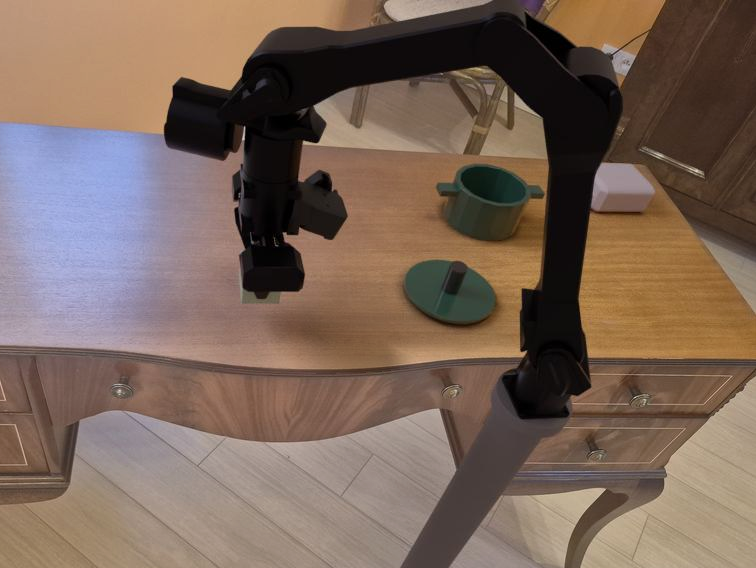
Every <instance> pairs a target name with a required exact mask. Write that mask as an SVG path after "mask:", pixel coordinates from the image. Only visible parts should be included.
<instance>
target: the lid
mask: <svg viewBox="0 0 756 568" xmlns="http://www.w3.org/2000/svg"><path fill="white" fill-rule="evenodd" d="M403 281H404V282H403V287H404V292H405V293H406V296H407V297H408V299H409V301H411V303H412V304H413V305H414V306H415V307H416V308H417V309H419V310H420V311H421V312H422V313H424V314H426V315H428V316H430V317H432V318H433V319H436V320H438V321H442V322H445V323H450V324H456V325H469V324H470V325H471V324H474V323H478V322H480V321H483V320H485V319H486V318H488V317H489V316H490V314H491V313H492V312H493V311H494V308H495V306H496V301H497V300H496V293H495V291H494V289H493V287H492V285H491V283H489V282H488V280H487V279H486V278H485V277H484V276H483V275H481V274H480V273H479V272H478V271H476V270H475V269H472V268H471V267H469V266H468V264H466V263H465V262H463V261H461V260H454V261H452V260H445V259H429V260H424V261H420V262H418V263H415V264H414V265H413V266H411V267H410V268H409V270H407V273H406V274H405V277H404V280H403Z"/></svg>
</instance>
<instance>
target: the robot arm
mask: <svg viewBox="0 0 756 568" xmlns="http://www.w3.org/2000/svg"><path fill="white" fill-rule="evenodd" d="M243 65H244V66H243V67H242V72H241V76H240V78H239V79H238V80H237V81H236V83H235V84H234V85H233V86H232V88H231V89H227V88H224V87H218V86H214V85H210V84H206V83H205V84H204V83H202V82H198V81H196V80H194V79H191V78H188V77H184V76H181V77H180V78H178V79H177V81H176V82H175V83H173V85H172V89H171V90H172V97H171V99H170V102H169V105H168V109H167V114H166V118H165V119H166V120H165V122H164V124H163V138H164V142H165V145H166V147H167V148H168V149H170V150H175V151H179V152H183V153H188V154H191V155H196V156H198V157H199V156H200V157H203V158H208V159H212V160H216V161H220V162H225V161H226V160H227V159H228V157H229V155H230V153H232V154H237V153H238V152H239V150H240V147H241V145H242V142H243V139H244V142H243V153H242V163H240V164H239V165H240V166H239V170H238V171H236V172H235V173H233V175H232V176H231V196H232V202H233V203H237V206H236V207H234V209H233V213H234V214H233V215H234V222H235V226H236V229H237V231H238V234H239V236H240V239H241V242H242V245H243V247H244V249H243V250H244V251H243V252H242V253H241V252H240V253H241V254H238V259H239V268H240V269H241V279H242V288H243V289H245V290H246V291H248V292H254V294H255V296H256V298H257V299H266V298H267V296H268V295H269V293H270V292H281V293H299V292H300V291H301V290H302V289H304V284H305V279H306V272H305V267H304V261H303V258H302V254H301V252H300V251H298V249H297V248H296V247H294V246H293V245H292V244H291V243H289V242H286V241H285V235H284V233H285V234H286V236H299V233H300V229H301V230H303V231H306V232H308V233H311V234H313V235H317V236H320V237H323V239H325V240H327V241H333V240H334V239H335V238H336V237H337V235H338V233H339V231H341V228H342V227H343V225H344V224H345V222H347V219H348V217H349V215H348V212H347V208H346V206H345V203H344V199H343V197H342V196H341V195H340V194H339V192H338V189H333V180H332V177H331V174H330V173H329V172H327V171H324V170H322V169H318V170H316V171H315V172H314V173H312V174H311V175H310V176H307V178H305V179H304V181H300V180H299V175H300V168H301V162H302V161H301V160H302V153H303V146H304V142H307V143H312V144H318V143H320V141H321V138H322V136H323V134H324V132H325V130H326V128H327V126H328V125H327V124H328V123H327V122H326V120H325V119H324V118H323V117H322V116H321V115H320V114H319V113H318V112H317V110H316V108H315V106H316V105H318V104H320V103H322V102H324V101H325V100H328V99H329V98H331V97H332V96H334V95H336V94H338V93H342V92H344V91H347V90H349V89H353V88H359V87H365V86H366V87H367V86H371V85H372V86H373V85H377V84H383V83H384V84H385V83H389V82H390V83H391V82H395V81H402V80H409V79H414V78H421V77H427V76H432V75H438V74H439V75H440V74H445V73H450V72H456V71H463V70H468V69H469V70H470V69H475V68H480V67H481V68H482V67H486V68H488V69H490V70H491V71H492V72H493V73H495V74H496V75H497V76H498V77H500V78H501V79H502V81H504V83H505V84H506V85H507V86H508V87H509V88H510V90H512V91H513V92H514V94H515V95H516V96H517V97H518V98H519V99H520V100H521V102H523V103H524V104H525V105H526V106H527V108H529V110H530V111H532V112H534V114H536V115H537V116H539V117H540V118H542V126H543V133H544V141H545V143H544V144H545V149H546V155H547V156H546V157H547V162H548V169H547V170H548V171H547V185H546V194H545V195H546V197H545V208H544V222H543V233H542V247H541V261H540V271H539V280H538V282H537V284H536V286H535V287H534V288H525V287H522V288H521V290H520V291H521V309H520V310H519V352H520V353H524V352H525V354H524V356H523V357H522V358H521V360H520V362H519V364H518V366H517V367H516V368H517V369H516V371H515V373H516V374H515V375H503V377H502V379H501V380H502V382H503V384H504V386H505V389H506V391H507V393H508V395H509V397H510V400H511V402H512V404H513V406H514V408H515V410H516V413H517V415H518V417H519V418H520V419H545V418H567V417H568V416H569V415H570V412H569V410H568V408H567V406H566V405H565V404H566V403H567V401H568V400H569V398H570V399H571V398H572V396H573V397H574V396H575V397H579V396H581V395H582V394H584V393H586V392H587V391H589V390H590V389H592V379H591V370H590V369H591V368H590V362H589V354H588V344H587V336H586V333H585V331H584V329H583V324H582V317H581V316H582V315H581V309H580V292H581V283H582V277H583V269H584V262H585V255H586V247H587V240H588V239H587V238H588V233H589V225H590V217H591V210H592V209H591V203H592V196H593V188H594V181H595V176H596V173H597V170H598V169H599V167H600V165H601V163H604V160H605V158H606V157H607V155H608V153H609V151H610V149H611V146H612V144H613V141H614V138H615V135H616V132H617V130H618V126H619V123H620V121H621V118H622V115H623V111H624V98H623V94H622V91H621V87H620V83H619V81H618V77H617V74H616V71H615V67H614V64H613V61H612V58H610V57H609V56H608V55H607V54H606V53H605V52H604V51H603V50H601V49H599V48H596V47H593V46H577V45H576V44H575V43H574V42H573V41H571V40H570V39H569V38H568V37H567V36H565V35H564V34H563V33H562V32H560V31H559V30H558V29H556V28H554V27H553V26H551V25H549V24H547V23H545V22H544V21H542V20H541V19H538V18H537V17H535V16H533V15H532V14H531V13H529V12H528V11H527V10H525V8H524V7H523V6H522V5H521V4H520V3H519V2H518V1H517V0H490V1H488V2H486V3H483V4H480V5H479V4H478V5H474V6H469V7H465V8H459V9H454V10H449V11H444V12H439V13H434V14H428V15H423V16H418V17H414V18H407V19H403V20H399V21H394V22H388V23H383V24H378V25H374V26H367V27H363V28H358V29H353V30H352V29H351V30H336V29H335V30H334V29H330V28H325V27H320V26H280V27H278V28H275V29H273V30H271V31H270V32H269V33H267V34H266V35H265V36H264V38H263V39H262V40H261V42H259V44H258V45H257V46H256V47H255V49H254V50H253V51H252V53H251V54H250V55H249V57H248V58H247V59H246V61H245V63H244V64H243ZM506 379H507V380H506ZM565 413H566V414H565ZM522 414H523V415H524V416H523V415H522Z"/></svg>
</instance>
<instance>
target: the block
mask: <svg viewBox="0 0 756 568" xmlns="http://www.w3.org/2000/svg"><path fill="white" fill-rule="evenodd" d="M244 250H245V249H240V252H239V253H240V254H241V253H242V252H243V251H244ZM238 271H239V272H238V284H239V295H240V303H241V304H242V305H255V304H256V305H262V304H263V305H266V304H268V305H270V304H272V305H273V304H280V299H281V293H282V292H270V293H269V295H268V296H267V298H266V299H257V298H256V296H255V294H254V292H248V291H246V290H245V289H243V288H242V279H241V269H240V267H239V270H238Z"/></svg>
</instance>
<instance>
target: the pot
mask: <svg viewBox="0 0 756 568" xmlns="http://www.w3.org/2000/svg"><path fill="white" fill-rule="evenodd" d="M435 189H436V191H437V193H438V195H439V197H442V198H443V197H444V198H445V197H447V198H446V200H445V203H444V208H443V216H444V218H445V220H446V221H447V223H448V224H449V225H450V226H451V227H452V228H453V229H455V230H456V231H458V232H459V233H461V234H463V235H465V236H467V237H469V238H473V239H476V240H480V241H486V242H487V241H488V242H496V241H503V240H506V239H508V238H510V237H511V236H512V235H514V233H515V231H516V230H517V228H518V226H519V224H520V222H521V220H522V218H523V216H524V213H525V211H526V209H527V207H528V205H529V202H530V200H531V199H532V200H543V199H544V197H545V195H546V193H545V192H544V189H542V187H541V186H540V185H539V184H528V183H527V181H526V180H524V179H523V178H522V177H521V176H519V175H518V174H517V173H514V172H513V171H511V170H508V169H506V168H504V167H502V166H496V165H493V164H488V163H471V164H467V165H462V167H460V168H459V169H458V170H456V172H455V175H454V177H453V180H452V182H440V181H439V182H438V181H437V183H436V185H435Z"/></svg>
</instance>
